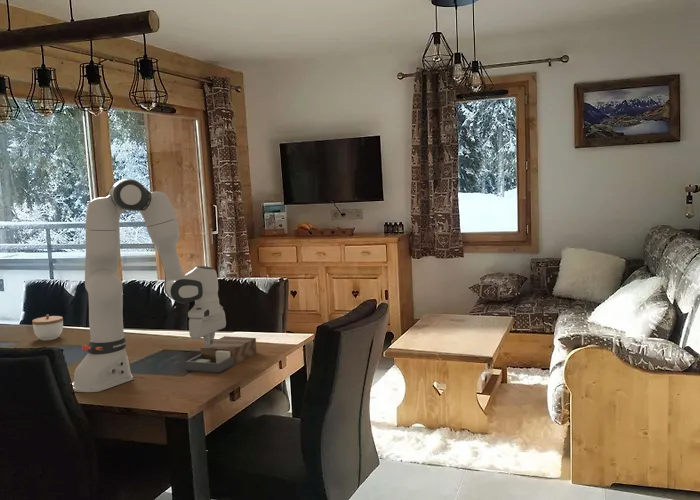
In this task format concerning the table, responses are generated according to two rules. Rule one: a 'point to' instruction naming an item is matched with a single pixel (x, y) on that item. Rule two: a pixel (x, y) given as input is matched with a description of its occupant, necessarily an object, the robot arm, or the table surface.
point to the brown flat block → (231, 348)
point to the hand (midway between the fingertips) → (209, 344)
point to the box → (209, 365)
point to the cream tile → (222, 355)
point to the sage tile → (203, 360)
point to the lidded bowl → (48, 327)
